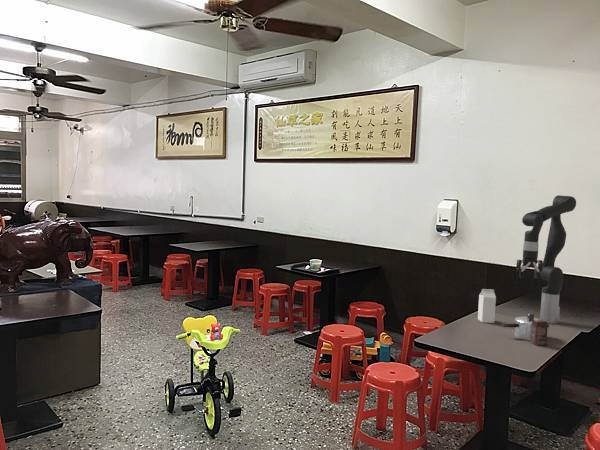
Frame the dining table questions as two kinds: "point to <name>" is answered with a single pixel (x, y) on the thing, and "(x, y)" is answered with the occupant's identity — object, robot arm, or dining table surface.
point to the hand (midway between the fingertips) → (528, 278)
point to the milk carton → (487, 306)
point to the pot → (521, 330)
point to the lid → (526, 319)
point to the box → (539, 332)
